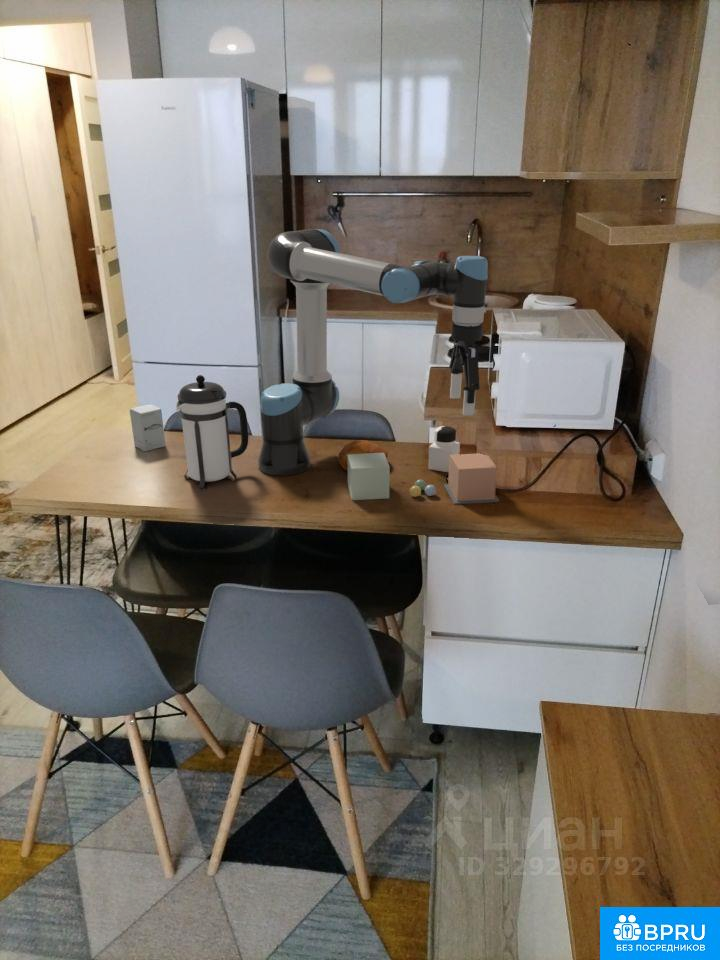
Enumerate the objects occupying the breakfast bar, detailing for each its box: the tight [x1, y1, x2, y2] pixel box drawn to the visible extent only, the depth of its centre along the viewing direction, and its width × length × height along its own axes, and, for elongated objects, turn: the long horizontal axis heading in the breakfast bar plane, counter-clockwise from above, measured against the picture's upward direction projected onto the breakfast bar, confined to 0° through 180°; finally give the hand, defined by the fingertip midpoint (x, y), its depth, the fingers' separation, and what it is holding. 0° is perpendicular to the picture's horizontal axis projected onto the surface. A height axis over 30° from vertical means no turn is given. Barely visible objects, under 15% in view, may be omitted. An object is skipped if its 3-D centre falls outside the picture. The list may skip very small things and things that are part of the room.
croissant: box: [338, 439, 389, 472], centre depth 203 cm, size 14×16×8 cm
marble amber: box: [409, 485, 422, 498], centre depth 183 cm, size 3×3×3 cm
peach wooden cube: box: [447, 452, 498, 501], centre depth 183 cm, size 10×10×9 cm
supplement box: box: [129, 403, 167, 453], centre depth 216 cm, size 7×7×13 cm
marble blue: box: [424, 484, 437, 497], centre depth 183 cm, size 3×3×3 cm
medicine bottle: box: [428, 425, 461, 474], centre depth 199 cm, size 7×7×12 cm
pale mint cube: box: [347, 453, 391, 501], centre depth 185 cm, size 10×10×9 cm
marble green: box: [414, 478, 427, 491], centre depth 186 cm, size 3×3×3 cm
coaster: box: [443, 483, 500, 505], centre depth 185 cm, size 12×12×1 cm
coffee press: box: [174, 374, 249, 490], centre depth 190 cm, size 17×16×30 cm
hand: (461, 406), depth 177 cm, fingers open, 13 cm apart
